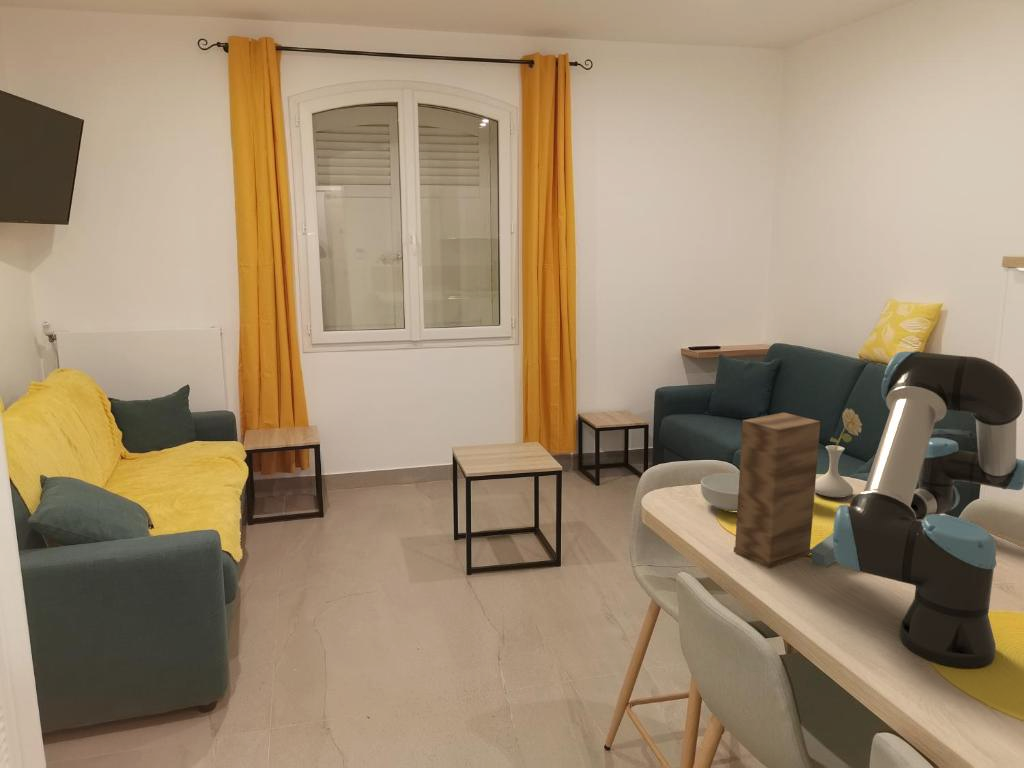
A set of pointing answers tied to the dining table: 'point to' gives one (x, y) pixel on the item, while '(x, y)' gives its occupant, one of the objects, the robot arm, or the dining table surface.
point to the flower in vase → (832, 480)
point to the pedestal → (776, 488)
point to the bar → (823, 552)
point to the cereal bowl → (721, 490)
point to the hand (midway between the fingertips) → (854, 525)
